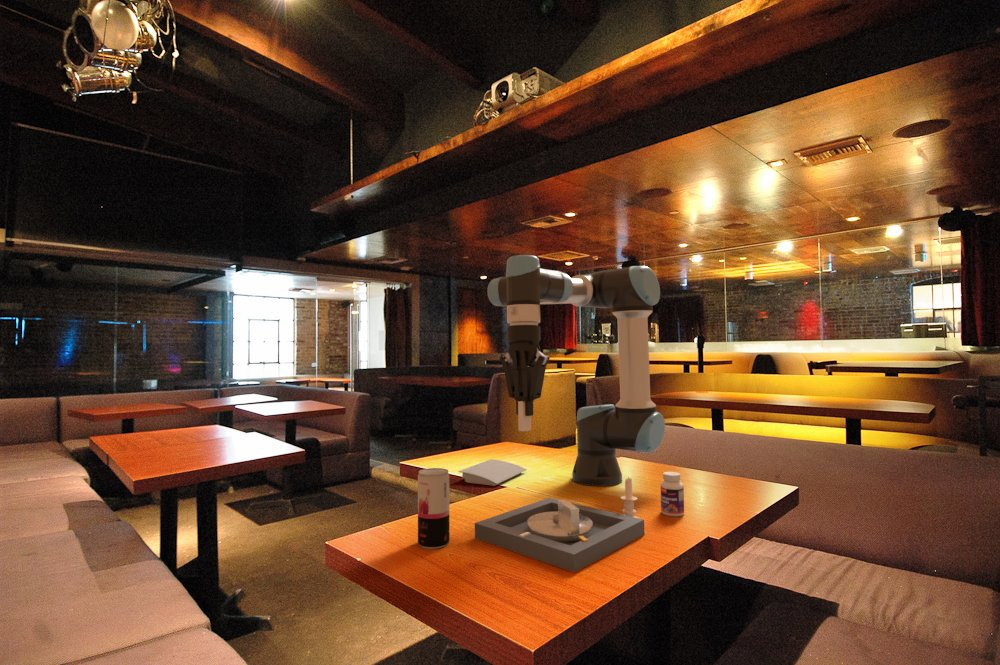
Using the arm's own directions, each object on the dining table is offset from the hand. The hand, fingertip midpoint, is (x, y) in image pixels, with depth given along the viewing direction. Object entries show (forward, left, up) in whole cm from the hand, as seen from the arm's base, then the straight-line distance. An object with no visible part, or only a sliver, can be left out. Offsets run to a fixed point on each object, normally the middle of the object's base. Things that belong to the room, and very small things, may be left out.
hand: (524, 430), depth 114 cm
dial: (-3, +8, -21) cm, 23 cm away
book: (-31, -42, -23) cm, 57 cm away
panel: (-3, +7, -22) cm, 24 cm away
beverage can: (+18, -10, -23) cm, 31 cm away
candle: (-22, +13, -23) cm, 34 cm away
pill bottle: (-34, +18, -23) cm, 45 cm away
